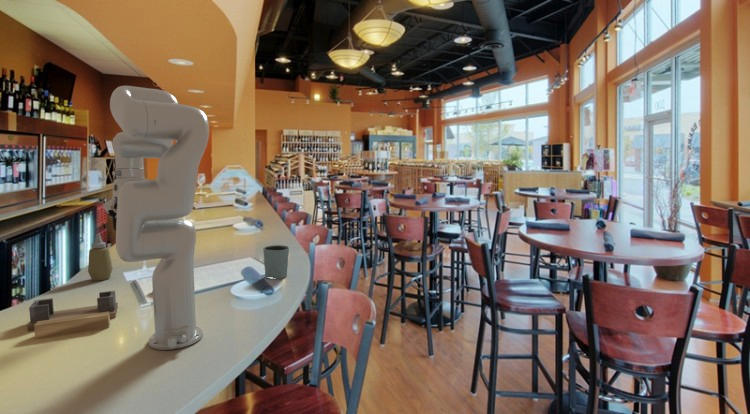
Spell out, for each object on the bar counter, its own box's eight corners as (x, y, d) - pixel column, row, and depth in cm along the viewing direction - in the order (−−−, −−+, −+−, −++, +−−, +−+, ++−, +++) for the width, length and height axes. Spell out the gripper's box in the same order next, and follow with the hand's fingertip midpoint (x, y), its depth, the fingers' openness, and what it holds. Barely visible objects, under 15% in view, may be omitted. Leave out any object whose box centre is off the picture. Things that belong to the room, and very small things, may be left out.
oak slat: (108, 328, 111) (107, 314, 111) (35, 340, 104) (34, 325, 103) (110, 324, 114) (109, 311, 113) (38, 335, 106) (37, 321, 106)
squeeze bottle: (91, 277, 160) (87, 233, 158) (114, 275, 163) (112, 231, 161) (86, 282, 152) (82, 236, 151) (111, 280, 156) (108, 235, 154)
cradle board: (115, 317, 118) (114, 298, 118) (27, 331, 109) (26, 309, 108) (117, 307, 127) (116, 288, 126) (37, 318, 117) (35, 298, 117)
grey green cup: (263, 274, 166) (262, 245, 165) (288, 272, 169) (287, 244, 168) (264, 280, 156) (263, 250, 155) (290, 278, 159) (290, 249, 158)
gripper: (109, 175, 116) (113, 233, 118) (163, 174, 131) (166, 225, 133) (93, 174, 119) (97, 231, 121) (148, 173, 135) (151, 224, 136)
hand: (133, 228), depth 127 cm, fingers open, 9 cm apart
